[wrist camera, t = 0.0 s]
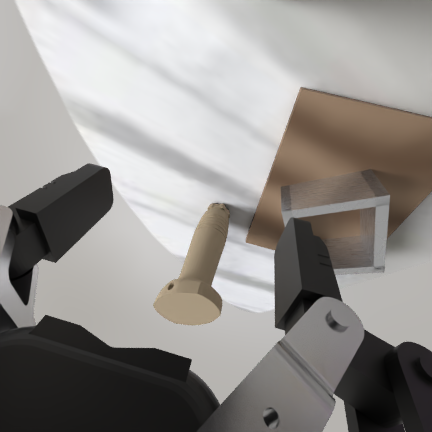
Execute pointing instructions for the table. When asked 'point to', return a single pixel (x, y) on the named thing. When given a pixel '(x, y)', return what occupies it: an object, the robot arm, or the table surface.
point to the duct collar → (344, 201)
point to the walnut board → (346, 161)
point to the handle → (197, 274)
